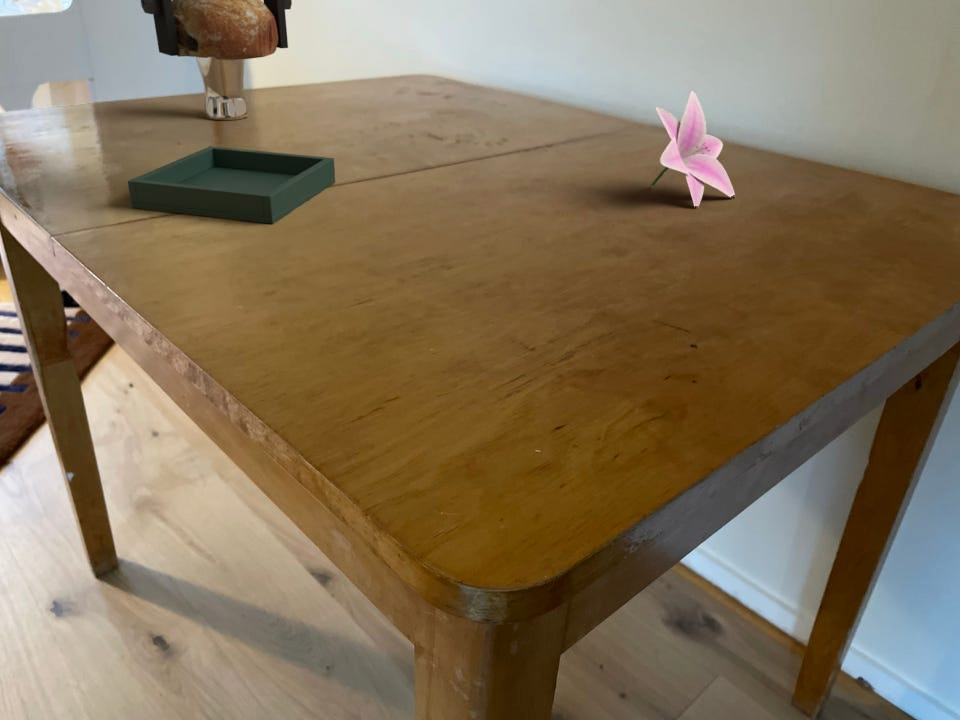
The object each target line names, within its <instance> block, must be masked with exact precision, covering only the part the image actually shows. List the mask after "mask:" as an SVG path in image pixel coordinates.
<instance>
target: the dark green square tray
mask: <svg viewBox="0 0 960 720" xmlns="http://www.w3.org/2000/svg"><path fill="white" fill-rule="evenodd" d="M335 168H336V167H335V158H334V157H326V156H316V155H305V154H294V153H285V152H274V151H265V150H264V151H263V150H253V149H245V148H244V149H242V148H235V147H222V146H212V145H210V146H207V147H205V148H202V149H200V150H198V151H196V152H193V153H190V154H188V155H186V156H184V157H181V158H178V159H177V160H174V161H172V162H170V163H167V164H164V165H163V166H159V167H157V168H155V169H152V170H150V171H148V172H146V173H144V174H141V175H139V176H136V177H134V178H132V179H129V180H127V187H128V192H129V197H130V201H131V202H130V203H131V208H132V209H141V210H149V211H157V212H167V213H174V214H176V213H177V214H183V215H192V216H202V217H208V218H209V217H210V218H218V219H228V220H237V221H244V222H253V223H254V222H256V223H261V224H269V225H270V224H271V225H273V224H275V223H276V222H278V221H279V220H282V219H283V218H284V217H285V216H287V215H288V214H290V213H291V212H293V211H294V210H296V209H298V208H299V207H300V206H302V205H304V204H305V203H306V202H308V201H309V200H311V199H312V198H314V197H315V196H317V195H318V194H320V193H321V192H323V191H324V190H326V189H327V188H329V187H330V186H332V185H333V184H334V183H336V171H335Z"/></svg>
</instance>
